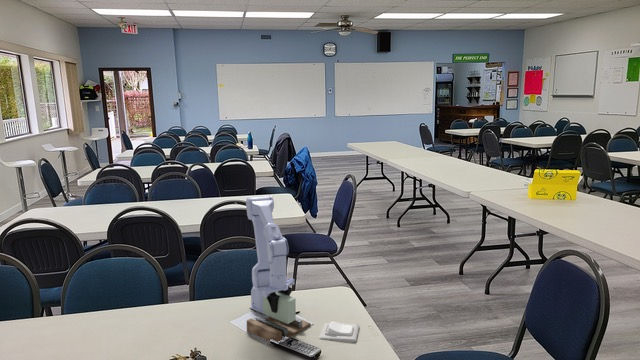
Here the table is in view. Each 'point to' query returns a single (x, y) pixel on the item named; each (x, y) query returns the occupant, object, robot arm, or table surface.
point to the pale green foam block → (282, 308)
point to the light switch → (339, 332)
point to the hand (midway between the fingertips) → (278, 309)
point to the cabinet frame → (275, 328)
